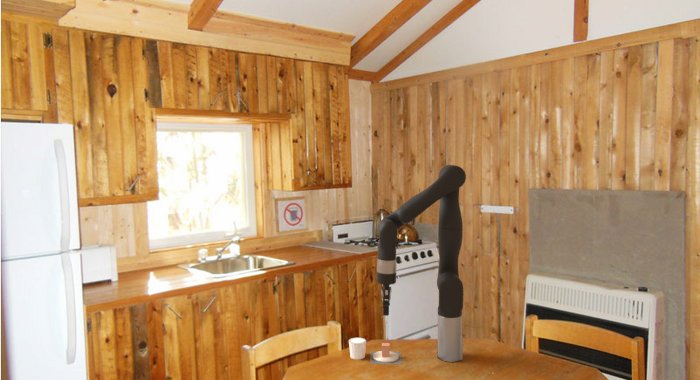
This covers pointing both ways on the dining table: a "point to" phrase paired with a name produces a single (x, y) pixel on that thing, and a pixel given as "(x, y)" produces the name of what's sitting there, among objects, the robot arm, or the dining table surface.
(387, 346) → the lid
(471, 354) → the dining table surface
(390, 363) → the mat
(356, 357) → the white cup
